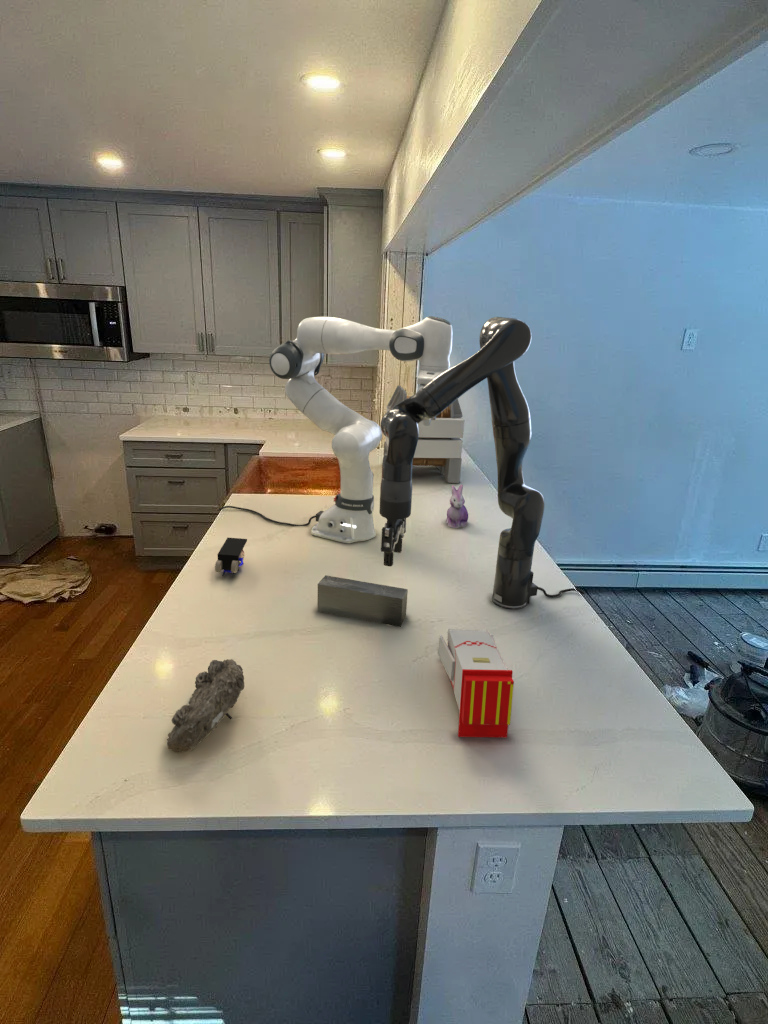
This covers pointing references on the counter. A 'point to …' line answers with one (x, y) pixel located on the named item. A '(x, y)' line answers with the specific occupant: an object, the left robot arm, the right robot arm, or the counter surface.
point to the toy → (478, 682)
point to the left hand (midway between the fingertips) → (429, 422)
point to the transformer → (437, 439)
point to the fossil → (206, 705)
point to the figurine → (457, 509)
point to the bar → (362, 600)
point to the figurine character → (230, 556)
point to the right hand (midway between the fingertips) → (392, 558)
